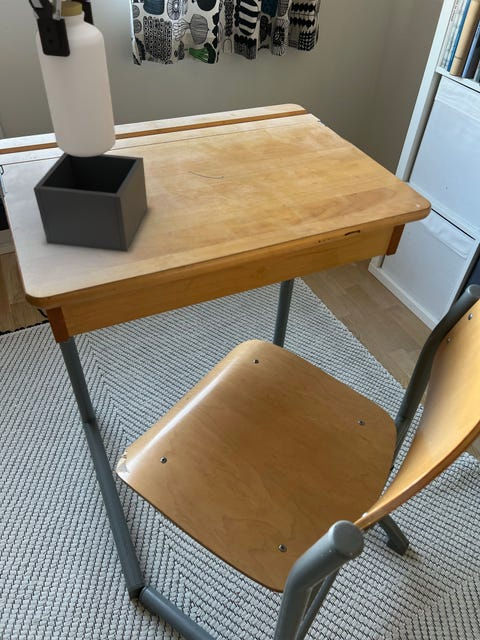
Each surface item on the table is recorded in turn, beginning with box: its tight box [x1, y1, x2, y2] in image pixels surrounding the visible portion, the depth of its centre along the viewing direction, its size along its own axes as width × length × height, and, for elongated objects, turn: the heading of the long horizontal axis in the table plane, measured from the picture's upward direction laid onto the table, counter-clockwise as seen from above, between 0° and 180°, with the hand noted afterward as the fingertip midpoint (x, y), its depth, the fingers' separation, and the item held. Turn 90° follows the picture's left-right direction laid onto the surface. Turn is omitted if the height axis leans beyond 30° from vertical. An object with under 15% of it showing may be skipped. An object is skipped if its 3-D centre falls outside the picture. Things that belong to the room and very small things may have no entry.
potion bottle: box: [35, 0, 117, 157], centre depth 68 cm, size 8×8×18 cm
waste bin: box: [33, 151, 149, 253], centre depth 80 cm, size 13×13×10 cm
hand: (70, 44), depth 65 cm, fingers closed on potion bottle, 8 cm apart
